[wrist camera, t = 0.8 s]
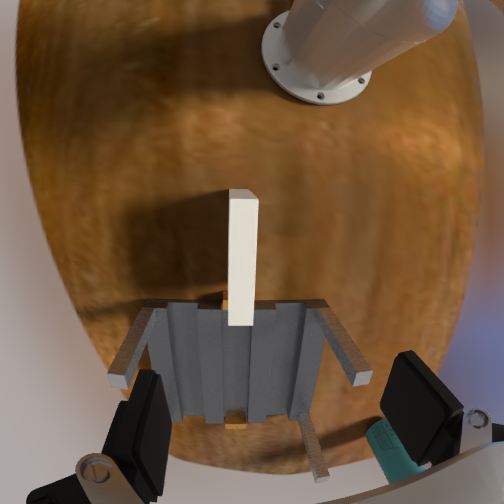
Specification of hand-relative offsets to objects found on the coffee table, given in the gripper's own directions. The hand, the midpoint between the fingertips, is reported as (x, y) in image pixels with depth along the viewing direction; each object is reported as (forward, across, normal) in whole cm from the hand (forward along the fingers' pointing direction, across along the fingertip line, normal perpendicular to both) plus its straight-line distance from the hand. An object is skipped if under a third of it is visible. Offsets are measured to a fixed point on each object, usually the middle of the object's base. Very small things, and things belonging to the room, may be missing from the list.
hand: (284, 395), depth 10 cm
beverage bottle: (+23, -24, +33) cm, 47 cm away
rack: (+23, +1, +16) cm, 28 cm away
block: (+22, +1, -1) cm, 22 cm away
